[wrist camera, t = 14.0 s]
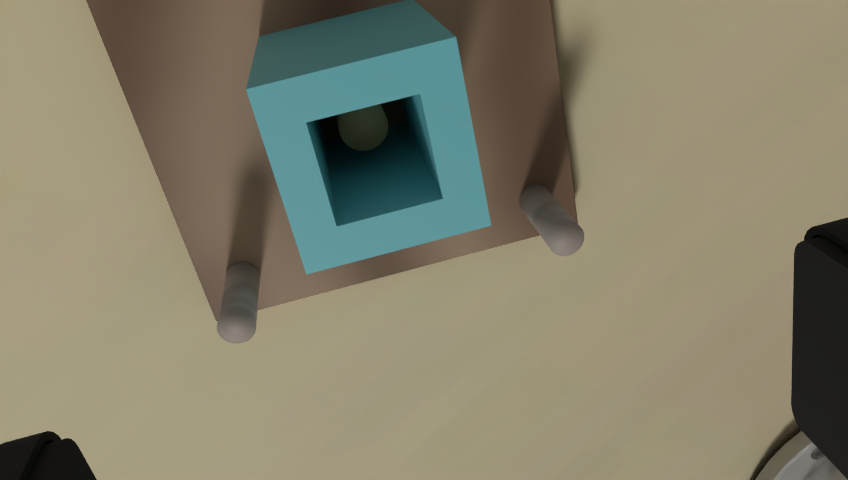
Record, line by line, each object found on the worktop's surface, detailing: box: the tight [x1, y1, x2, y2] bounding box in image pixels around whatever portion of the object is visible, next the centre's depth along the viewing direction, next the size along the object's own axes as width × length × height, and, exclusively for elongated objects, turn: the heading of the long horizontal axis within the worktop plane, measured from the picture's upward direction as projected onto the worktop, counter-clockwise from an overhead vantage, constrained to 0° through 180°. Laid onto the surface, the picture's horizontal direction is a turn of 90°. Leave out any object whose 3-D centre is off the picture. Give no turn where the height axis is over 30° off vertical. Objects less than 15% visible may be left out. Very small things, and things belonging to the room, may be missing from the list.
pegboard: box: [86, 0, 584, 343], centre depth 23 cm, size 14×14×5 cm
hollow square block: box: [246, 0, 491, 275], centre depth 21 cm, size 5×5×7 cm
